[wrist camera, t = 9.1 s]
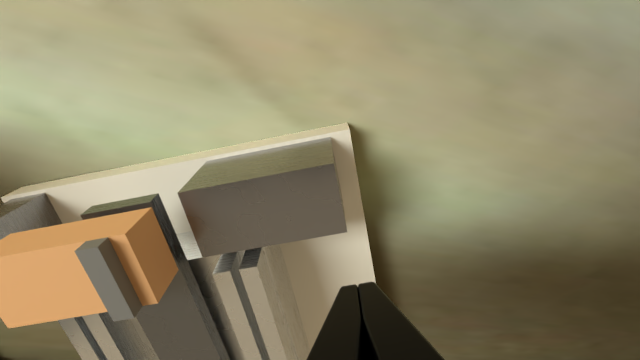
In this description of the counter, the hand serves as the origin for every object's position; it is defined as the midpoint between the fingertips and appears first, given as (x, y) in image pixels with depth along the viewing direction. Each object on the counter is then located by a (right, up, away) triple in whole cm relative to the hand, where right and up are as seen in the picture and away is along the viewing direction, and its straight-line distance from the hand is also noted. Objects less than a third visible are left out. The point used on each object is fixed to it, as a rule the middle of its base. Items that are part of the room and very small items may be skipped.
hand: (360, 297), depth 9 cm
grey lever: (-8, -5, +9) cm, 13 cm away
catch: (-10, 0, +6) cm, 12 cm away
